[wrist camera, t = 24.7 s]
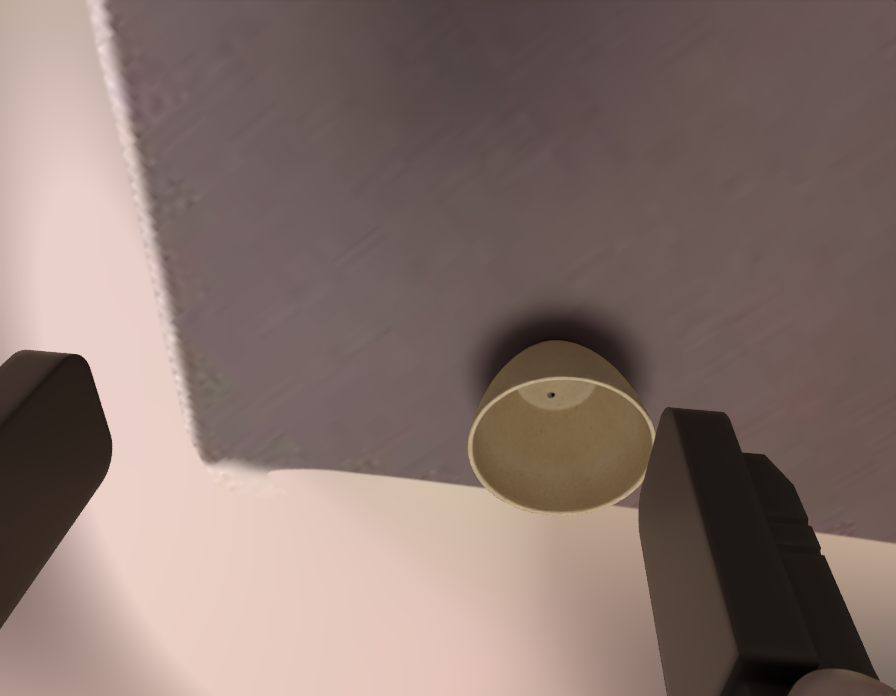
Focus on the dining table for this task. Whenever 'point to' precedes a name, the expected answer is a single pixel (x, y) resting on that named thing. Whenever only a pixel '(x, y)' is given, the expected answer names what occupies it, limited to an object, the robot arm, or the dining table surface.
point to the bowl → (560, 432)
